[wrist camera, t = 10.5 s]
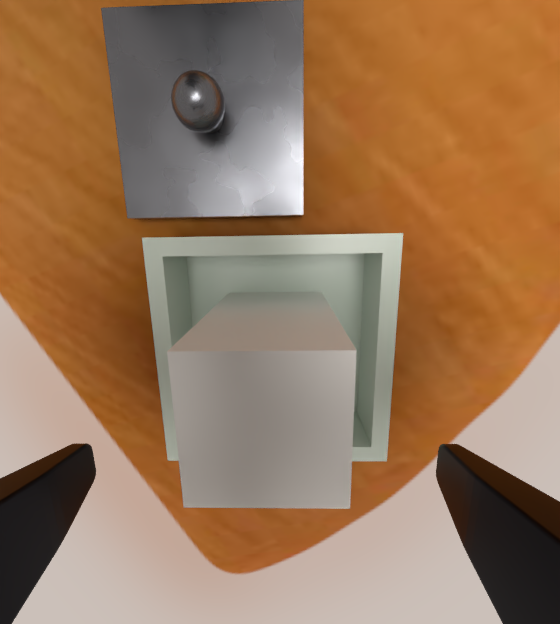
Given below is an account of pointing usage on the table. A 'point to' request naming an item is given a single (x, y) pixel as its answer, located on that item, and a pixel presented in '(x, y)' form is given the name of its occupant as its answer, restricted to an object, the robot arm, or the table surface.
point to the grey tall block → (265, 404)
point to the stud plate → (208, 108)
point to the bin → (286, 278)
